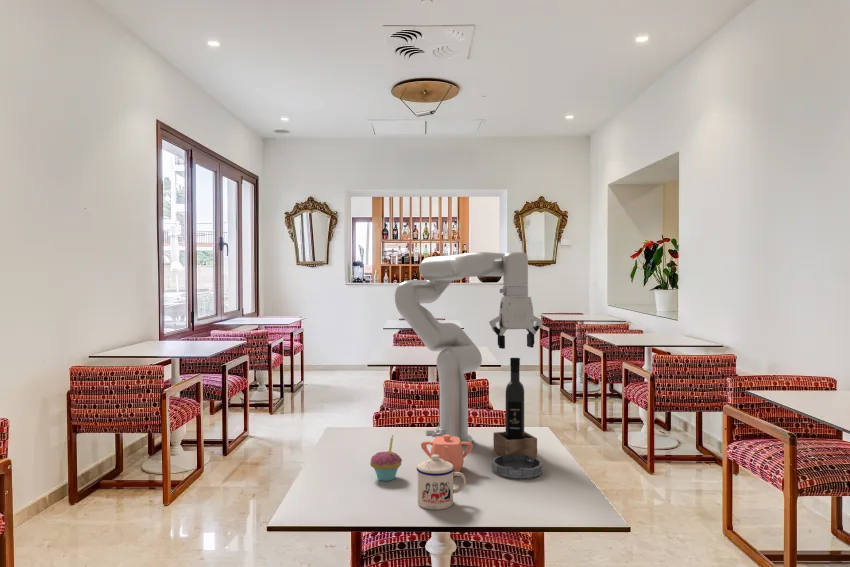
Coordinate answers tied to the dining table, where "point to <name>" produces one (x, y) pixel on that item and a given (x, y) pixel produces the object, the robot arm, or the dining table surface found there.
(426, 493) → the teacup with lid
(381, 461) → the cupcake
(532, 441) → the open square wooden box
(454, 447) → the teapot
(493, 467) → the serving bowl
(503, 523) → the dining table surface
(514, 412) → the wine bottle
